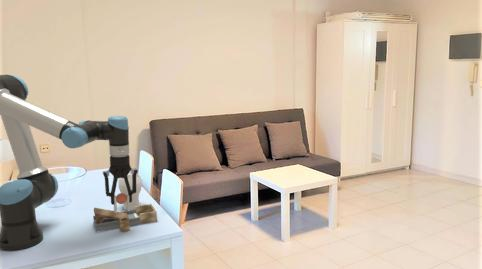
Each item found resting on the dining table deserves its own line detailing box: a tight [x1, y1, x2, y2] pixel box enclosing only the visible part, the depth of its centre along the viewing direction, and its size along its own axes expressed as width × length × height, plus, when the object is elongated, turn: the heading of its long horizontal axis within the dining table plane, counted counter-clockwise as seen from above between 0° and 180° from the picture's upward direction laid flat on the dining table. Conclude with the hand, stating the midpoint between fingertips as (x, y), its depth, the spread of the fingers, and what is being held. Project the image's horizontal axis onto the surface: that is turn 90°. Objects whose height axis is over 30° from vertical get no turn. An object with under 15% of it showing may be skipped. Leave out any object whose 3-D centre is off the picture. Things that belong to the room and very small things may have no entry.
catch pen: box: [136, 203, 158, 225], centre depth 176 cm, size 7×11×4 cm, turn 24°
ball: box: [116, 192, 127, 205], centre depth 162 cm, size 4×4×4 cm
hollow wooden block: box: [119, 217, 131, 233], centre depth 164 cm, size 3×3×5 cm
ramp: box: [93, 207, 129, 224], centre depth 170 cm, size 14×8×6 cm, turn 114°
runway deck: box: [92, 209, 142, 233], centre depth 171 cm, size 18×11×3 cm, turn 114°
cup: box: [117, 173, 143, 211], centre depth 189 cm, size 11×11×15 cm
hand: (121, 210), depth 163 cm, fingers closed on ball, 4 cm apart
